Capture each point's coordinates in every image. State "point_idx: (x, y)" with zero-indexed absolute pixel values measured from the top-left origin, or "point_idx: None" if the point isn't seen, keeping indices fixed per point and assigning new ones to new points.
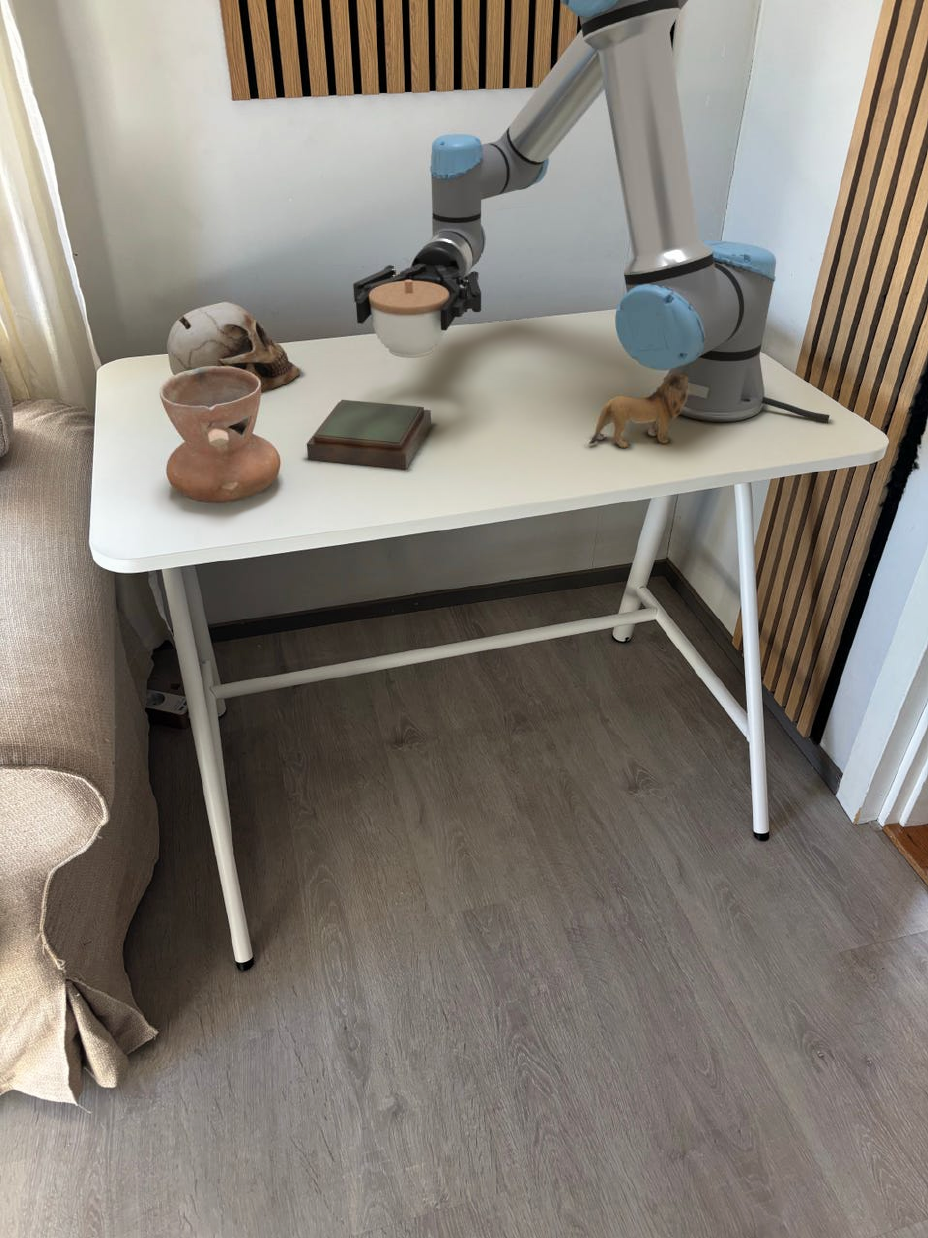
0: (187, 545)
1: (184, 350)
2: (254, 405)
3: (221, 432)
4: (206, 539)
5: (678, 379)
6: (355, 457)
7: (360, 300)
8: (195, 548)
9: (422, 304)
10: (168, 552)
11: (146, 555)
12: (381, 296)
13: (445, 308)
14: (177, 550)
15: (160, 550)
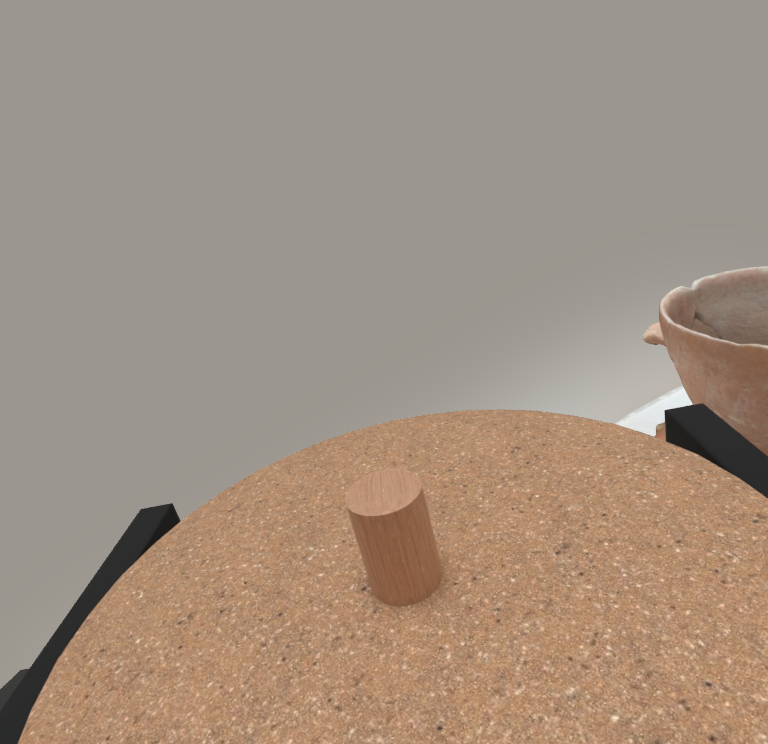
0: (653, 415)
1: None
2: (669, 346)
3: (658, 326)
4: (642, 428)
5: None
6: None
7: (715, 430)
8: (636, 415)
9: (269, 467)
10: (661, 402)
11: (680, 391)
12: (575, 451)
13: (140, 522)
14: (654, 407)
15: (675, 400)
